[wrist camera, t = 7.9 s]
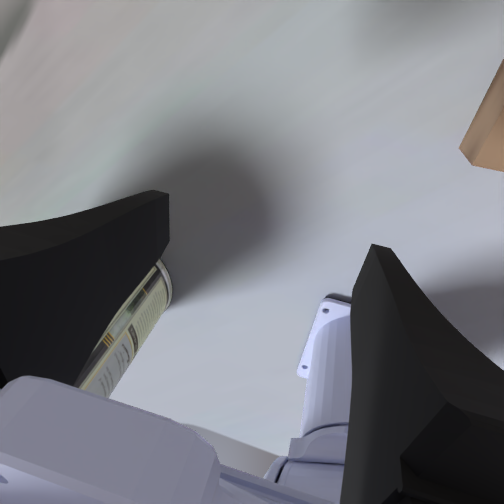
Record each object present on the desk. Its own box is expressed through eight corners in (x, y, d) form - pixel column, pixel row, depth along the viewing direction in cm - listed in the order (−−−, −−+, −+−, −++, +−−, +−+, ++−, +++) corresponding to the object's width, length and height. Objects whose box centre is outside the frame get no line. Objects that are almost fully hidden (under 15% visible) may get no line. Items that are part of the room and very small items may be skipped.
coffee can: (74, 300, 33) (-69, 444, 22) (55, 209, 27) (-156, 345, 16) (173, 331, 32) (75, 500, 21) (176, 244, 26) (40, 416, 15)
